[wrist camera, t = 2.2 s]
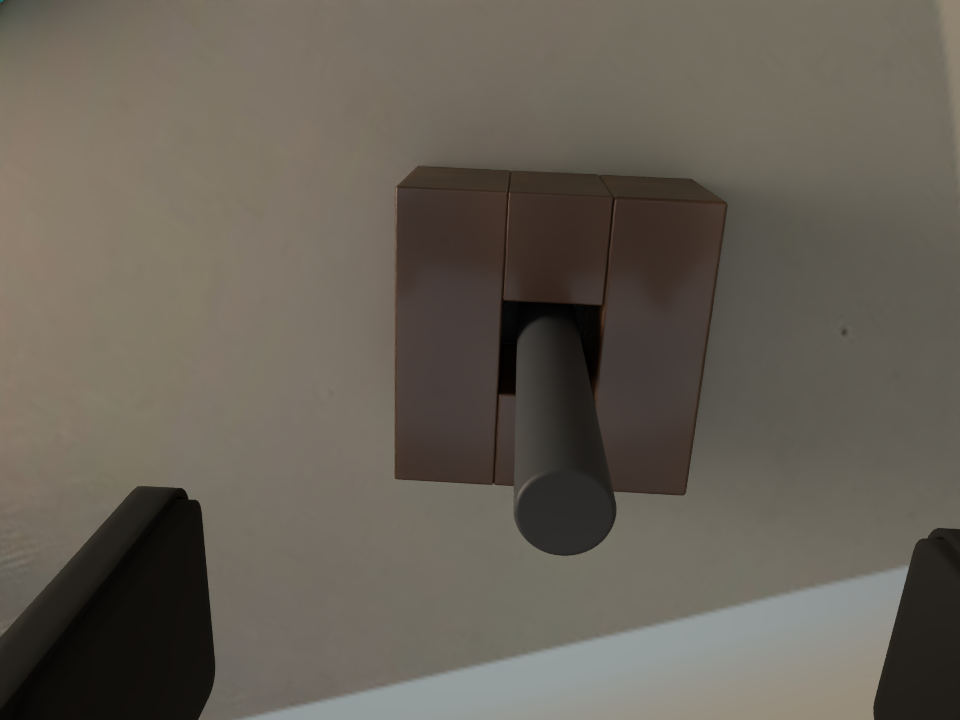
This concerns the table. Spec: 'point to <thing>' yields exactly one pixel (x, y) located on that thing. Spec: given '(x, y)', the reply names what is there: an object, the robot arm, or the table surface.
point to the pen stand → (551, 279)
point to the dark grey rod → (557, 437)
